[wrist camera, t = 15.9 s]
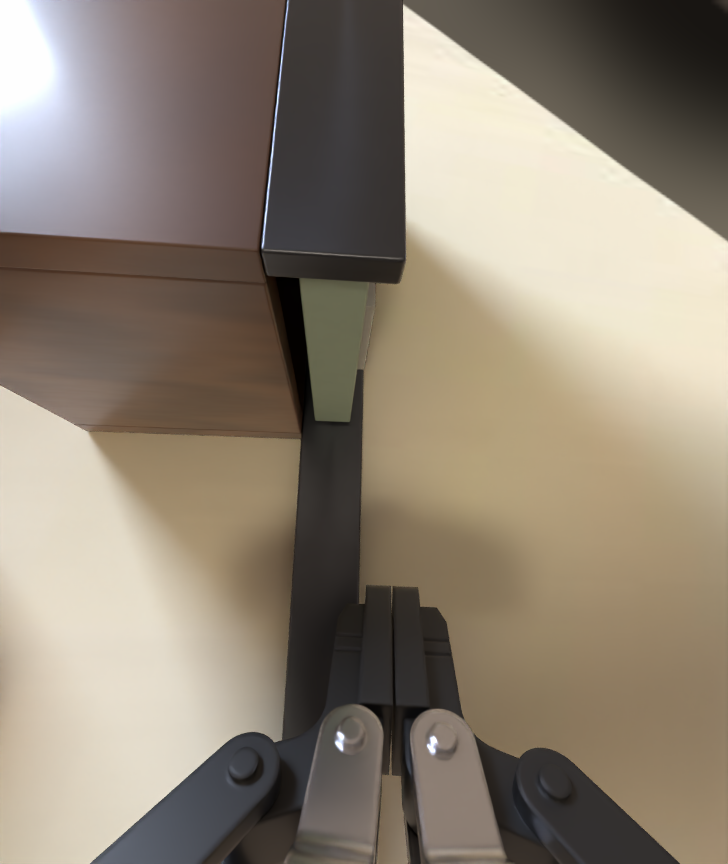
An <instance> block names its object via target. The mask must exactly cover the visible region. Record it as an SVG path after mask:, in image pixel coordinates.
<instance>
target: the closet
mask: <svg viewBox="0 0 728 864" xmlns="http://www.w3.org/2000/svg"><path fill="white" fill-rule="evenodd" d="M286 3H287V0H0V385H1V386H3V387H5V388H7V389H9V390H10V391H12V392H14V393H16V394H18V395H20V396H22V397H24V398H26V399H27V400H29V401H31V402H33V403H35V404H37V405H39V406H41V407H43V408H45V409H46V410H48V411H50V412H52V413H54V414H56V415H58V416H60V417H62V418H64V419H65V420H67V421H69V422H71V423H73V424H74V425H76V426H78V427H80V428H82V429H84V430H86V431H103V432H129V433H156V434H182V435H209V436H235V437H262V438H288V439H301V433H302V418H303V402H304V386H305V370H306V355H307V345H306V336H305V327H304V318H303V309H302V301H301V292H300V283H299V278H289V277H274V276H268V275H266V273H265V270H264V265H263V261H262V256H261V252H260V246H261V237H262V227H263V218H264V209H265V199H266V190H267V181H268V171H269V162H270V153H271V143H272V134H273V125H274V115H275V106H276V97H277V87H278V78H279V69H280V59H281V50H282V41H283V31H284V22H285V13H286Z"/></svg>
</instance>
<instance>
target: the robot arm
mask: <svg viewBox="0 0 728 864" xmlns="http://www.w3.org/2000/svg"><path fill="white" fill-rule="evenodd" d="M391 742H392V775H395V776H401V784H402V807H403V812H404V825H405V836H406V846H407V857H408V864H680V863H679V862H678V861H677V860H676V859H675V858H673V857H672V856H671V855H670V854H669V853H668V852H667V851H666V850H665V849H664V848H663V847H662V846H661V845H660V844H659V843H658V842H656V841H655V840H654V839H653V838H652V837H651V836H650V835H649V834H648V833H647V832H646V831H645V830H644V829H643V828H642V827H641V826H640V825H638V824H637V823H636V822H635V821H634V820H633V819H632V818H631V817H630V816H629V815H628V814H627V813H626V812H625V811H624V810H623V809H621V808H620V807H619V806H618V805H617V804H616V803H615V802H614V801H613V800H612V799H611V798H610V797H609V796H608V795H607V794H606V793H604V792H603V791H602V790H601V789H600V788H599V787H598V786H597V785H596V784H595V783H594V782H593V781H592V780H591V779H590V778H589V777H587V776H586V775H585V774H584V773H583V772H582V771H581V770H580V769H579V768H578V767H577V766H576V765H575V764H574V763H573V762H571V761H570V760H569V759H568V758H566V757H565V756H563V755H562V754H560V753H558V752H556V751H553V750H550V749H546V748H534V749H530V750H528V751H526V752H525V753H524V754H523V755H522V756H521V757H520V759H519V758H516V757H514V756H511V755H509V754H506V753H504V752H501V751H499V750H496V749H494V748H492V747H490V746H488V745H487V744H485V743H484V742H482V741H481V740H480V739H479V738H477V737H476V735H475V734H474V733H473V732H472V730H471V728H470V727H469V726H468V724H467V723H466V722H465V720H464V717H463V714H462V710H461V705H460V699H459V693H458V687H457V681H456V676H455V670H454V664H453V658H452V652H451V646H450V642H449V634H448V628H447V623H446V621H445V619H444V618H443V616H442V615H441V613H440V612H439V610H438V609H437V608H434V607H420V601H419V591H418V587H396V586H393V592H392V613H391V586H377V585H366V597H365V604H351V603H347V604H346V606H345V607H344V609H343V610H342V612H341V613H340V615H339V616H338V621H337V628H336V637H335V643H334V650H333V657H332V664H331V672H330V679H329V686H328V693H327V701H326V705H325V709H324V711H323V714H322V715H321V717H320V719H319V720H318V721H317V722H316V724H315V725H314V726H313V727H311V728H310V729H309V730H307V731H306V732H304V733H302V734H300V735H298V736H295V737H292V738H289V739H285V740H282V741H279V742H275V743H274V742H273V740H271V739H270V738H269V737H268V736H266V735H264V734H261V733H257V732H248V733H243V734H240V735H238V736H236V737H234V738H232V739H230V740H229V741H228V742H227V743H225V744H224V745H223V746H222V747H221V748H220V749H218V750H217V751H216V752H215V753H214V754H213V755H212V756H211V757H209V758H208V759H207V760H206V761H205V762H204V763H203V764H202V765H200V766H199V767H198V768H197V769H196V770H195V771H194V772H193V773H191V774H190V775H189V776H188V777H187V778H186V779H185V780H184V781H182V782H181V783H180V784H179V785H178V786H177V787H176V788H175V789H173V790H172V791H171V792H170V793H169V794H168V795H167V796H166V797H164V798H163V799H162V800H161V801H160V802H159V803H158V804H157V805H155V806H154V807H153V808H152V809H151V810H150V811H149V812H148V813H146V814H145V815H144V816H143V817H142V818H141V819H140V820H139V821H137V822H136V823H135V824H134V825H133V826H132V827H131V828H130V829H128V830H127V831H126V832H125V833H124V834H123V835H122V836H121V837H119V838H118V839H117V840H116V841H115V842H114V843H113V844H112V845H110V846H109V847H108V848H107V849H106V850H105V851H104V852H103V853H101V854H100V855H99V856H98V857H97V858H96V859H95V860H93V861H92V862H91V863H90V864H282V863H284V864H377V853H378V840H379V826H380V809H381V786H382V774H383V775H389V765H390V746H391Z"/></svg>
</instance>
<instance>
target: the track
mask: <svg viewBox="0 0 728 864" xmlns="http://www.w3.org/2000/svg"><path fill="white" fill-rule="evenodd" d="M260 252H261V256H262V261H263V265H264V270H265V273H266V275H268V276H274V277H289V278H305V279H321V280H337V281H353V282H369V283H385V284H399V283H400V281H401V279H402V275H403V271H404V267H405V263H406V206H405V128H404V51H403V0H287V3H286V13H285V22H284V31H283V41H282V50H281V59H280V69H279V78H278V87H277V97H276V106H275V115H274V125H273V134H272V143H271V153H270V162H269V171H268V181H267V190H266V199H265V209H264V218H263V227H262V237H261V246H260ZM363 370H364V369H363ZM363 370H362V369H357V374H356V382H355V389H354V396H353V403H352V410H351V417H350V422H336V421H316V420H315V416H314V407H313V398H312V389H311V380H310V371H309V363H308V354H307V355H306V370H305V386H304V402H303V418H302V433H301V449H300V465H299V481H298V496H297V512H296V528H295V544H294V559H293V575H292V591H291V607H290V622H289V638H288V654H287V670H286V685H285V701H284V717H283V733H282V740H285V739H289V738H292V737H295V736H298V735H300V734H302V733H304V732H306V731H307V730H309V729H310V728H311V727H313V726H314V725H315V724H316V722H317V721H318V720H319V719H320V717H321V715H322V714H323V711H324V709H325V705H326V701H327V693H328V686H329V679H330V672H331V664H332V657H333V650H334V643H335V637H336V628H337V621H338V616H339V615H340V613H341V612H342V610H343V609H344V607H345V606H346V604H347V603H351V604H359V569H360V520H361V470H362V420H363ZM282 864H284V863H282Z"/></svg>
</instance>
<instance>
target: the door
mask: <svg viewBox="0 0 728 864" xmlns="http://www.w3.org/2000/svg"><path fill="white" fill-rule="evenodd" d="M299 283H300V292H301V301H302V309H303V318H304V327H305V336H306V345H307V354H308V363H309V371H310V380H311V389H312V398H313V407H314V416H315V420H316V421H336V422H350V417H351V410H352V403H353V396H354V389H355V382H356V374H357V369H362V370H363V369H364V368H365V362H366V356H367V351H368V345H369V339H370V334H371V328H372V322H373V317H374V311H375V289H376V283H369V282H353V281H337V280H321V279H305V278H299Z"/></svg>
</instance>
